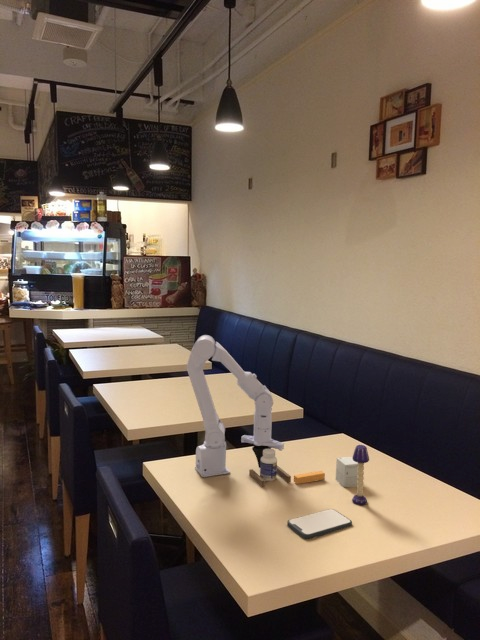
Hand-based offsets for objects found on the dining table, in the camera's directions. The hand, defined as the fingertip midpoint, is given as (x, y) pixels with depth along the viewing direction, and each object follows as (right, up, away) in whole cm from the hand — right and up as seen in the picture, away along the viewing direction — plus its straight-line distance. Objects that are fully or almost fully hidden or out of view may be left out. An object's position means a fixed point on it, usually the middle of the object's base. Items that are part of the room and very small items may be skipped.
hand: (261, 467), depth 167 cm
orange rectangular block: (+15, -3, -6) cm, 16 cm away
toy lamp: (+27, -5, -19) cm, 34 cm away
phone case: (+14, -6, -33) cm, 36 cm away
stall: (+2, -2, -5) cm, 6 cm away
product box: (+27, -3, -7) cm, 28 cm away
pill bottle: (+2, -2, -4) cm, 5 cm away
